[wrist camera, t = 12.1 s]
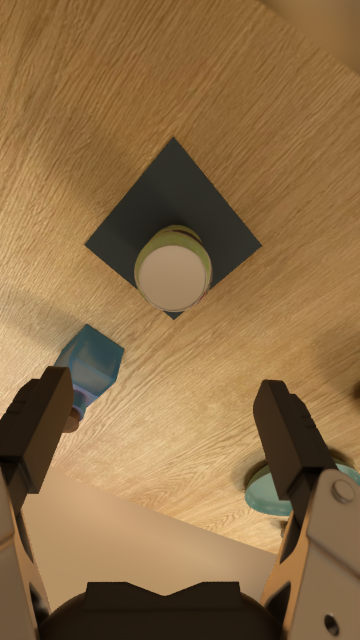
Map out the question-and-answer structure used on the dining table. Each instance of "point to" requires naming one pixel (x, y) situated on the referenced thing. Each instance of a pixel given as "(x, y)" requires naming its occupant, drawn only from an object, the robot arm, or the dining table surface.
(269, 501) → the saucer
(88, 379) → the perfume bottle
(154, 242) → the beverage can
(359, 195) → the dining table surface
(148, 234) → the mat
